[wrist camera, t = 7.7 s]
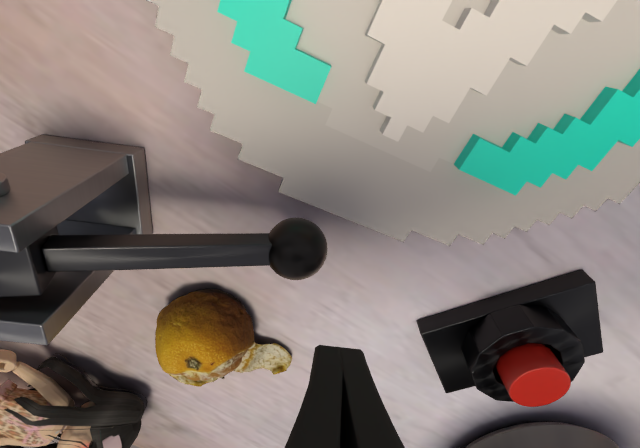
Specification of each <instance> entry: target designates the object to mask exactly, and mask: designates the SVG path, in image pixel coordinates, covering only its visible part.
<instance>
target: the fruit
mask: <svg viewBox="0 0 640 448" xmlns="http://www.w3.org/2000/svg"><path fill="white" fill-rule="evenodd" d="M252 323H253V322H252V318H251V316H250V315H249V314H248V313H247V312H246V309H245V307H244V306H243V304H242V303H241V302H240V301H239V300H238V299H237V298H235V297H234V296H232V295H230V294H228V293H226V292H223V291H221V290H217V289H203V290H199V291H195V292H190V293H189V294H187V295H186V296H181V297H179V298H177V299H176V300H173V301H172V302H171V303H170V304H169V305H168V306H166V307H165V308H163V309H162V310H161V312H160V313H159V315H158V318H157V328H156V333H155V334H156V339H155V340H156V354H157V358H158V361H159V364H160V366H161V367H162V369H163V371H165V372H166V373H168V374H169V375H170V376H172V377H173V378H175V379H176V380H178V381H179V382H183V383H185V384H190V385H194V386H202V385H203V384H206V383H208V382H214V381H215V380H217V379H218V378H222V379H224V376H225V375H226V374H228V373H230V372H232V371H236V372H240V373H243V372H250V371H253V370H256V369H259V368H265V369H268V370H270V371H272V373H273V374H277V373H280V372H284V371H286V370H287V368H288V367H289V366H290V363H291V360H292V357H291V355H290V354H289V353H288V352H287V351H286V350H285V349H284V348H283V347H282V346H280V345H278V344H276V343H273V344H265V345H260V344H256V343H255V342H254V331H253V324H252Z"/></svg>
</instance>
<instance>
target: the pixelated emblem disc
mask: <svg viewBox="0 0 640 448" xmlns="http://www.w3.org/2000/svg"><path fill="white" fill-rule="evenodd" d="M147 1H149V2H151V3H153V4H155V5H158V6H159V8H158V13H157V19H156V24H155V27H156V28H158V29H160V30H162V31H165V32H167V33H169V34H171V35H173V36H174V39H173V43H172V48H171V53H170V56H172V57H175V58H177V59H179V60H181V61H184V62H186V63H188V68H187V72H186V76H185V80H184V82H185V83H187V84H190V85H192V86H194V87H197V88H199V89H201V90H202V91H201V95H200V98H199V102H198V106H197V107H198V108H201V109H203V110H205V111H208V112H210V113H212V114H214V117H213V121H212V124H211V128H210V131H212V132H214V133H217V134H219V135H222V136H224V137H226V138H229V139H231V140H234V141H236V142H238V143H241V144H243V145H242V147H241V150H240V153H239V156H238V160H241V161H243V162H245V163H248V164H250V165H253V166H255V167H258V168H260V169H262V170H265V171H267V172H270V173H272V174H275V175H277V176H280V177H282V178H283V180H282V183H281V185H280V188H279V191H278V192H280V193H282V194H284V195H287V196H289V197H292V198H294V199H297V200H299V201H302V202H304V203H307V204H309V205H312V206H314V207H317V208H319V209H322V210H324V211H327V212H329V213H332V214H334V215H337V216H339V217H342V218H344V219H347V220H349V221H352V222H354V223H357V224H359V225H362V226H364V227H367V228H369V229H372V230H374V231H377V232H379V233H382V234H384V235H387V236H389V237H392V238H394V239H396V240H399V241H401V242H404V241H405V239H406V238H407V236H408V234H409V233H410V231H414V232H416V233H418V234H421V235H423V236H426V237H428V238H431V239H433V240H436V241H438V242H440V243H443V244H445V245H448V246H450V245H451V244H452V242H453V241H454V240H455V238H456V237H457V235H460V236H463V237H465V238H467V239H470V240H472V241H475V242H477V243H479V244H482V245H484V244H485V242H486V241H487V240H488V238H489V237H490V236H491V234H492V233H493V234H495V235H497V236H500V237H502V238H504V239H505V238H506V237H507V235H508V234H509V233H510V232H511V230H512V229H513V228H514V227H516V228H518V229H521V230H523V231H525V232H527V231H528V230H529V229H530V228H531V226H532V225H533V224H534V223H535V221H536V220H538V221H541V222H543V223H545V224H547V225H550V224H551V223H552V222H553V220H554V219H555V218H556V217H557V216H558V214H559V213H561V214H563V215H566V216H568V217H570V218H573V217H574V216H575V215H576V214H577V212H578V211H579V210H580V209H581V208H582V207H583V206H585V207H587V208H589V209H591V210H594V211H597V209H598V208H599V207H600V206H601V205H602V204H603V203H604V202H605V201H606V199H607V198H608V199H610V200H612V201H614V202H616V203H618V204H620V203H621V202H622V201H623V200H624V199H625V198H626V197H627V196H628V195H629V194H630V193H631V192H632V190H633V189H634V188H635V187H636V186H637V185H638V184H639V183H640V0H147Z"/></svg>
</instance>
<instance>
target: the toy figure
mask: <svg viewBox="0 0 640 448" xmlns="http://www.w3.org/2000/svg"><path fill="white" fill-rule="evenodd" d="M55 354H58V353H55ZM53 355H54V354H53ZM60 355H61V354H60ZM51 356H52V355H51ZM63 357H64V356H63ZM64 358H65V357H64ZM65 359H66V358H65ZM66 360H67V359H66ZM67 361H68V360H67ZM68 362H69V361H68ZM71 364H72V363H71ZM73 365H74V364H73ZM74 366H75V365H74ZM43 367H49V368H50V369H52V370H53V371H55V372H57V373H58V374H60V375H62V376H63V377H65V378H66V379H68V380H69V381H70V382H72V383H73V384H74V385H75V386H76V387H77V388H78V389H79V390H80V391H81V392H82V393H83V394H84V395H85V396H86V397H87V398H88V399H89V400H91V401H92V402H87V403H85V404H83V405H82V406H81V407H74V403H75V402H74V401H73V399H71V397H70V396H69V394H68V393H67V392H66V391H65V390H64V389H63V388H62V387H61V386H60V385H59V384H58V383H57V382H56V381H54V380H53V379H52V378H51V377H49V376H47V375H45V374H44V373H42V372H40V371H38V370H39V369H41V368H43ZM76 367H77V366H76ZM78 368H79V367H78ZM79 369H80V368H79ZM81 370H82V369H81ZM9 371H12V372H14V373H15V374H16V375H18V376H19V377H20V378H22V379H23V380H24V381H26V382H27V383H28V384H30V385H29V386H32V387H34V389H29V390H27V389H20V388H17V385H16V384H15V383H13V382H12V381H10V380H9V379H8V380H7V381H6V382H5V383H3V384H2V385H1V386H0V448H24V447H21V446H32V447H36V448H130V447H131V445H132V444H133V442H134V441H135V439H136V438H137V436H138V433H139V431H140V428H141V418H142V415H143V412H144V410H145V409H144V403H143V401H142V400H141V399H140V397H139V396H137V395H135V394H132V393H128V392H120V391H109V390H102V389H97V388H95V387H94V386H93V385H92V384H90V383H89V381H88V380H87V379H86V378H85V377H84V376H83V375H82V374H81V373H80V372H79V371H78V370H76V369H74V368H72V367H70V366H69V365H67V364H66V363H65V362H63V361H61V360H60V359H58V358H56V357H51V358H49V359H47V360H46V361H44V362H43V363H42V364H41V366H38V368H37V369H34V368H32V367H30V366H28V365H27V364H25V363H22V362H16V354H15V353H14V352H12V351H10V350H4V349H0V372H9ZM82 371H83V370H82ZM83 372H84V371H83ZM84 373H85V372H84ZM87 376H88V375H87ZM88 377H89V376H88ZM89 378H90V377H89ZM92 382H93V381H92ZM93 383H94V382H93ZM95 384H96V383H95ZM96 385H97V384H96ZM29 386H27V387H29ZM100 387H102V386H100ZM104 388H106V387H104ZM111 389H116V388H111ZM122 390H126V389H122ZM128 391H130V390H128ZM133 392H134V391H133ZM137 393H138V392H137ZM142 395H143V394H142ZM143 396H144V395H143ZM144 397H145V396H144ZM145 398H146V397H145ZM146 401H147V400H146ZM146 405H147V403H146ZM56 436H58V437H60V439H59V438H57V437H56ZM54 438H55V439H57V440H59V442H58V443H53V444H49V445H47V444H48V443H50V442H51V441H52V440H53V439H54ZM38 446H41V447H38Z"/></svg>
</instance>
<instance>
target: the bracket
mask: <svg viewBox="0 0 640 448" xmlns="http://www.w3.org/2000/svg"><path fill="white" fill-rule="evenodd" d="M55 226H57V229H58V233H59V235H119V234H152V233H153V232H152V222H151V212H150V202H149V192H148V182H147V172H146V162H145V152H144V148H141V147H133V146H126V145H118V144H110V143H103V142H95V141H87V140H80V139H72V138H64V137H57V136H49V135H40V136H37V137H34V138H31V139H29V140H26V141H25V144H24V145H21V146H19V147H16V148H13V149H11V150H8V151H5V152H3V153H0V251H7V252H15V253H18V252H21V251H22V250H23V249H25V248H26V247H28V246H29V245H30V244H32V243H33V242H34V241H36V240H37V239H39V238H40V237H41V236H43V235H44V234H46V233H47V232H48V231H50V230H51V229H52V228H54V227H55ZM113 271H114V270H100V271H68V272H56V274H55V275H54V277H53V279H52V280H51V282H50V283H49V285H48V286H47V288H46V290H45V291H44V293H43V294H42V295H40V296H21V297H0V340H1V341H10V342H20V343H30V344H39V345H48V344H49V343H50V342H51V341H52V340H53V339H54V337H55V336H56V335H57V334H58V333H59V332H60V331H61V330H62V328H63V327H64V326H65V325H66V324H67V323H68V322H69V321H70V319H71V318H72V317H73V316H74V315H75V314H76V313H77V312H78V310H79V309H80V308H81V307H82V306H83V305H84V304H85V303H86V301H87V300H88V299H89V298H90V297H91V296H92V295H93V293H94V292H95V291H96V290H97V289H98V288H99V287H100V286H101V284H102V283H103V282H104V281H105V280H106V279H107V278H108V277H109V275H110V274H111V273H112V272H113Z"/></svg>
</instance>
